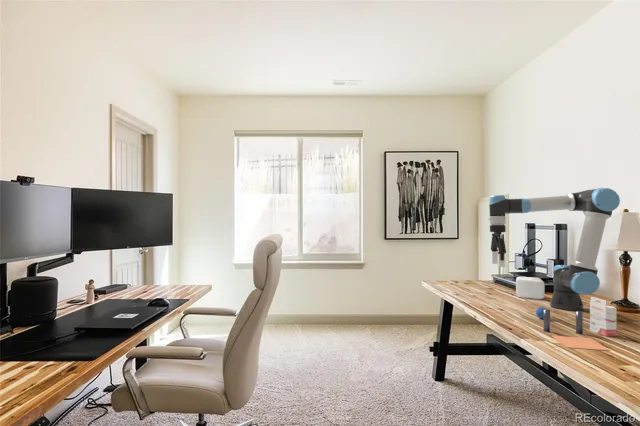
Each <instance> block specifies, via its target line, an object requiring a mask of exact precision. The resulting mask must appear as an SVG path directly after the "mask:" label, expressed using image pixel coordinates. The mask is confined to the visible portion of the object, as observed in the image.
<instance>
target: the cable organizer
mask: <svg viewBox="0 0 640 426" xmlns="http://www.w3.org/2000/svg"><path fill="white" fill-rule="evenodd" d="M515 292H516V293H515V295H516V296H517V297H520V298H521V299H527V298H528V299H533V300H542V299H544V298H545V281H543V280H542V278H539V277H530V276H529V277H527V276H517V277H516V278H515Z"/></svg>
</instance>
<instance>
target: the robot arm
mask: <svg viewBox="0 0 640 426" xmlns="http://www.w3.org/2000/svg"><path fill="white" fill-rule="evenodd" d="M488 200H489V201H488V202H489V204H488V206H489V207H488V208H489V218H488V221H489V224H490V225H489V232H490V233H491V244H490V250H491V264H492V265H498V267H499V268H502V267H503V268H505V267H506V260H505V259H506V256H505V255H506V253H507V249H506V244H505V243H506V241H505V235H504V234H502V233H505V232H507V231H506V229H507V226H506V223H507V221H506V215H509V214H528V213H535V212H549V211H550V212H551V211H562V210H568V211H569V212H573V211H574V212H582V213H583V215H584V216H585V218H584V222H583V226H582V229H581V234H580V239H579V243H578V247H577V251H576V254H575V259H574V261H573V262H571V263H570V264H569V265H568V264H557V265H554V267H553V294H552V296H551V299H550V301H549V306H550V307H552V308H554V309H558V310H565V311H574V312H576V311H581V312H582V311H583V310H585V309H584V304H583V300H582V297H581V295H591V294H594V293H595V292H596V291H597V290H598V289H599V287H600V284H601V280H600V278H599V277H598V272H599V270H598V268H597V267H596V263H597V260H598V256H599V250H600V246H601V243H602V239H603V235H604V231H605V226H606V222H607V220H608V219H610V218H612V215H613V211H614V210H616V209H617V208H618V207H619V206H620V203H621V199H620V196H619V194H618V193H617V192H616V190H613V189H612V188H609V187H598V188H592V189H587V190H583V191H578V192H573V193H572V192H571V193H567V194H566V195H558V196H557V195H556V196H544V197H543V196H541V197H530V198H506V195H504V194H497V195H496V194H494V195H490V196H489V199H488Z"/></svg>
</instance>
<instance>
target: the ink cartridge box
mask: <svg viewBox="0 0 640 426" xmlns="http://www.w3.org/2000/svg"><path fill="white" fill-rule="evenodd" d="M617 329H618V327H617V307H615V306H610V305H607V300H605V299H602V298H598V297H593V296H591V297H590V303H589V331H590V332H592V333H595V334H599V335H601V336H603V337H617V336H618V335H617V333H618V332H617Z"/></svg>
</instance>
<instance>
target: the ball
mask: <svg viewBox="0 0 640 426" xmlns="http://www.w3.org/2000/svg"><path fill="white" fill-rule="evenodd" d="M544 309H547V308H546V307H544V306H539V307H537V308H536V310H535V315H536V316H537V317H538V318H539V319H541V320H544Z"/></svg>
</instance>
